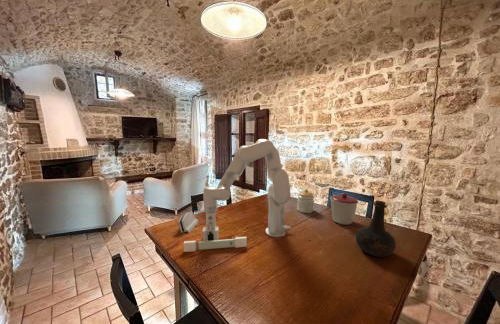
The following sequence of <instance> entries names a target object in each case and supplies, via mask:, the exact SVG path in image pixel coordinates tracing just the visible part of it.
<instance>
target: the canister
mask: <svg viewBox="0 0 500 324" xmlns="http://www.w3.org/2000/svg"><path fill="white" fill-rule="evenodd" d="M359 202H360V201H359V199H357V198H355V197H353V196H350V195H348V193H346V192H343V193H341V194H334V195H332V196H330V203H331V218H332V220H333V221H334V222H335V223H337V224H339V225H345V226H348V225H351V224H352V223H354V220H355V216H356V213H357V212H356V211H357V207H358V204H359Z"/></svg>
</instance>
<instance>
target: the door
mask: <svg viewBox="0 0 500 324" xmlns="http://www.w3.org/2000/svg"><path fill="white" fill-rule="evenodd" d="M223 248H224V249H225V248H235V238H228V239H226V238H225V239H219V240H212V241H203V240H202V241H198V240H196V251H200V250H201V251H202V250H212V249H214V250H215V249H223Z"/></svg>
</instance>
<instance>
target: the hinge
mask: <svg viewBox="0 0 500 324" xmlns="http://www.w3.org/2000/svg"><path fill="white" fill-rule="evenodd" d="M177 223H178V226H179V230H180V232H181V234H182V233H184V232H187V233H188V234H189V233H190V232H191V231H192V230H193V229H194V228H195V226H196V225H197V224H198V223H199V219H198V218H196V216H195V214H194V212H193V211H188V212H186V213H185V212H184V214H182V216H181V217H180V218H179V219H178V222H177Z"/></svg>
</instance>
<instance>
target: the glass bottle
mask: <svg viewBox="0 0 500 324" xmlns="http://www.w3.org/2000/svg"><path fill="white" fill-rule="evenodd" d="M386 203H387V202H385V201H383V200H375V202H374V203H373V206H374V209H373V210H374V211H373V213H372V219H371V221H370V223H369V225H368V226H363V227H361V228H359V229H358V230H357V231H356V233H355V241H356V244H357V245H358V247H359V248H360V249H361V250H362V251H363V252H365V253H367V254H369V255H371V256H374V257H378V258H385V257H388V256H389V255H391V254H393V253H394V251H395V250H396V247H397V242H396V240H395V238H394V236H393V235H392V234H391V233H390V232H388V231H387V230H386V229H385V209H386V208H387V207H388V206H387V205H386Z"/></svg>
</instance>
